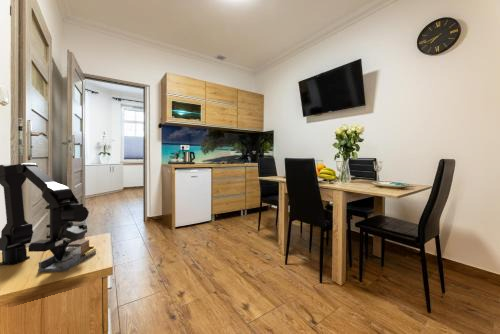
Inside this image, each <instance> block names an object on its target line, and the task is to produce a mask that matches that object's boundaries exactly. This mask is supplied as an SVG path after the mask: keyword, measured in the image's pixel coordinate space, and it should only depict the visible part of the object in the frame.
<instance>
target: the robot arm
mask: <svg viewBox="0 0 500 334" xmlns="http://www.w3.org/2000/svg"><path fill="white" fill-rule="evenodd" d="M26 180H29V181H30V182H31V183H32V184H33V185H34V186H35V187H37V189H39V190H40V191H41V197H42V198H43V200H44V201H45V202H46V203H47V204H48V205H47V206H45V208H44V209H45V210H49V223H48V224H46V228H49V234H47V235H46V239H39V240H36V241H33V242H32V239H33V235H34V230H33V224H32V223H29V222H27V220H26V218H25V207H24V195H23V184H24V183H25V182H26ZM0 186H2V188H3V196H4V205H5V216H6V224H5V225H4V227H3V228H2V230H1V231H0V233H1V237H0V251H1V255H2V256H1V258H2V259H1V260H2V261H1V262H0V266H7V265H9V266H10V265H16V264H17V265H18V264H19V263H21V262H23V261H25V260H27V259H29V258H30V257H31V256H30V255H29V256H28V254H27V253H28V252H29V253H30V252H40V253H42V252H47V251H49V252H51V254H52V256H53V255H54V256H55V257H56V259H57V260H58V261H61V260H62V258H63V256H64V253H65V251H66V248H67V246H68V245H69V244H70V243H71V242H73V241H77V240H78V239H80V238H83V236H84V235H85V236H86V234H87V233H88V225H87V224H85V223H84V224H82V225H80V226H79V227H78V226H73V222H82V221H84V222H85V221H86V220H87V219H88V217H89V209H87V207H86V206H84V203H81V202H79V200H78V198H77V197H76V196H75V193H73V191H72V189H71V188H70V187H68V186H67V185H64V184H61V183H58V182H56V181H54V180H53V179H52V178H51V177H50V176H48V175H47V174H46V173H45V172H44V171H43V170H41V168H40V167H39V166H38V165H37V163H34V162H24V163H23V162H20V163H17V164H0ZM69 221H71V222H69ZM27 244H29V245H27ZM26 245H27V246H26ZM27 247H28V252H27Z"/></svg>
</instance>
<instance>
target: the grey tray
mask: <svg viewBox="0 0 500 334" xmlns="http://www.w3.org/2000/svg"><path fill="white" fill-rule="evenodd" d="M96 253H97V249H96V247H95V245H89V251H87V252H86V253H84V254H83V255H81V257H80V253H78V254H76V255H74V256H73V257H71V258H69V259H67V260H65V261H55V256H54V255H53V254H52V255H51V256H49V257H47V258H45V259H43V260H40V261H39V262H38V269H37V272H38V273H56V272H58V273H60V272H61V273H62V272H67V271H69V270H70V269H73V268H74V267H76V266H77V265H79V264H80V263H82V262H84V261H85V260H87V259H88V258H89V259H90V257H92V256H94V255H95V254H96Z"/></svg>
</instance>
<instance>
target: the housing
mask: <svg viewBox="0 0 500 334" xmlns="http://www.w3.org/2000/svg"><path fill="white" fill-rule="evenodd" d="M89 246H90V239H85V240H77V241H74V242H72V243H70V244H69V245H68V247H81V255H83V254H84V253H86V252H87V251H89Z"/></svg>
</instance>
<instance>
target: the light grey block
mask: <svg viewBox="0 0 500 334" xmlns="http://www.w3.org/2000/svg"><path fill="white" fill-rule="evenodd" d="M78 253H80V257H81V247H67V248H66V251H65V253H64V256H63V258H62V260H61V261H65V260H67V259H69V258H71V257H73V256H74V255H76V254H78ZM55 261H58V260H57V259H56V257H55Z"/></svg>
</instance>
